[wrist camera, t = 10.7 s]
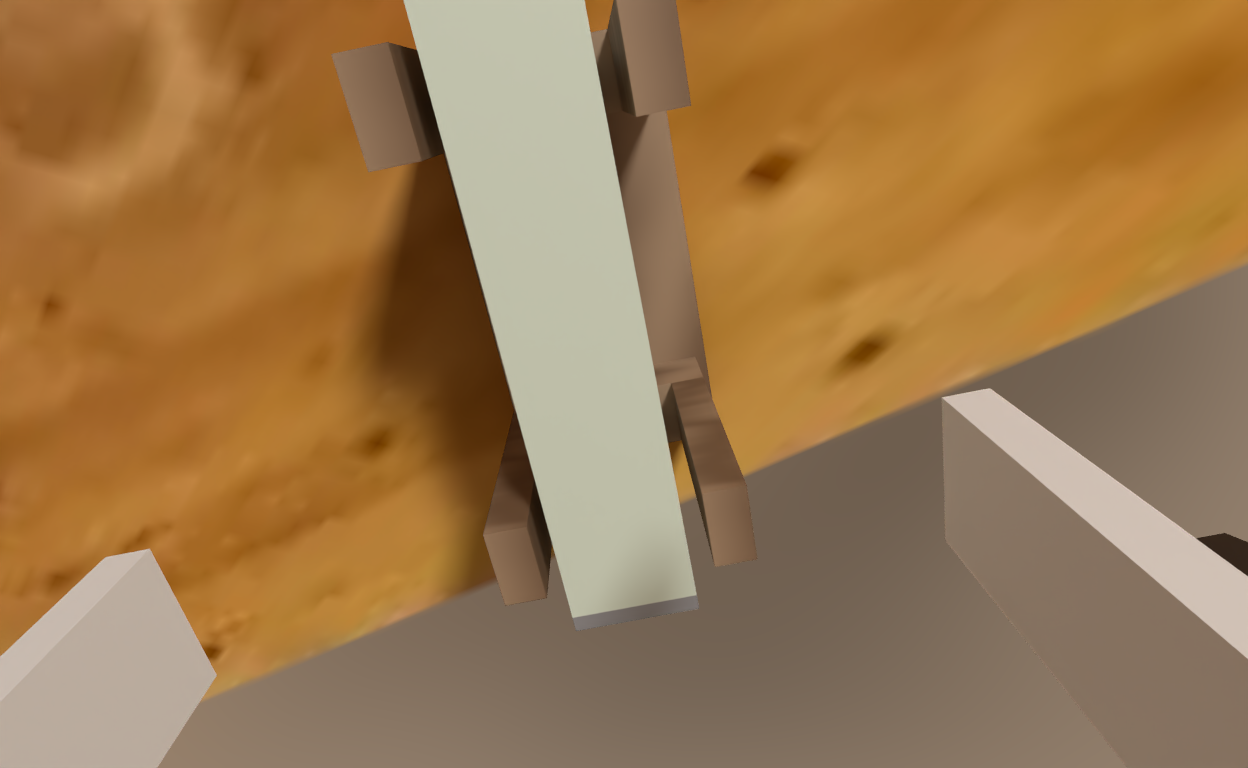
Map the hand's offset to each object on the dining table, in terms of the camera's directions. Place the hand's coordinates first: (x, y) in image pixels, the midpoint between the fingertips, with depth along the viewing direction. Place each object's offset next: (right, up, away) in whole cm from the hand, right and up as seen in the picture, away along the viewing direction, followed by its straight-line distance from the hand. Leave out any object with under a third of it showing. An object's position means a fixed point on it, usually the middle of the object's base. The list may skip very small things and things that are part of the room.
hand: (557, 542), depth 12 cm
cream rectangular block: (-1, +7, +19) cm, 21 cm away
